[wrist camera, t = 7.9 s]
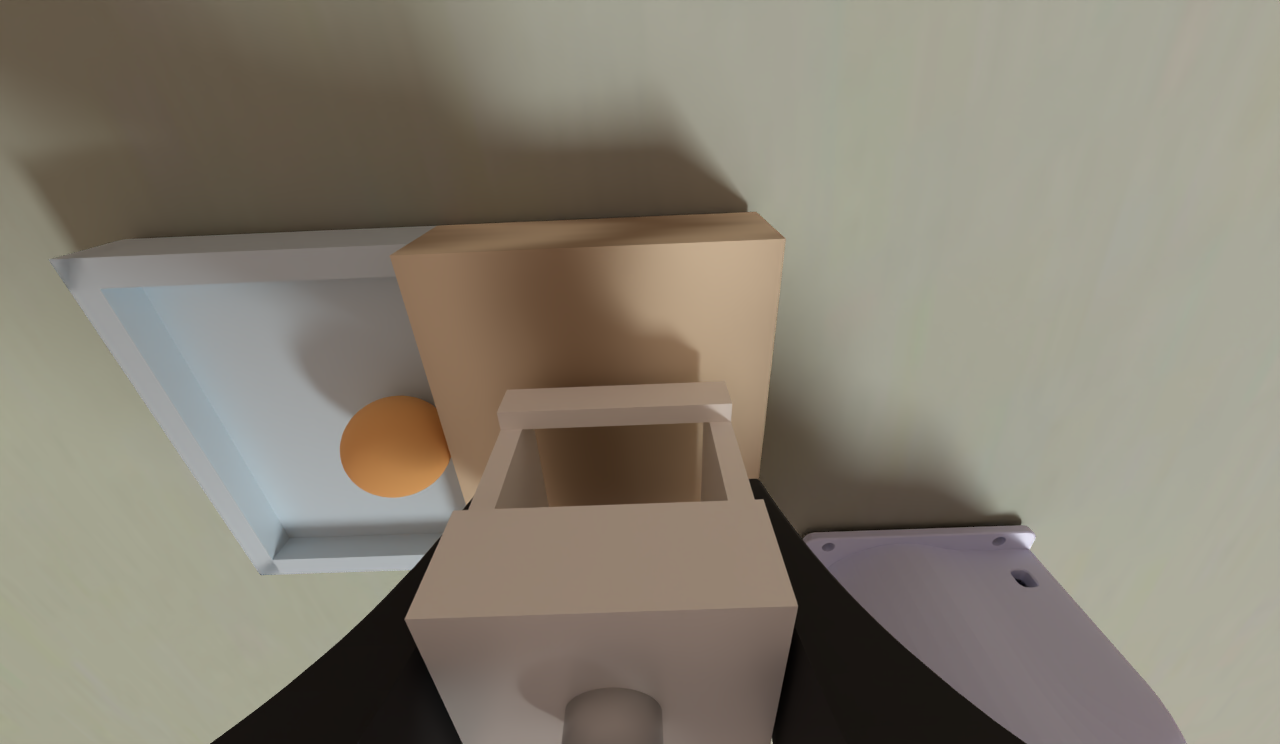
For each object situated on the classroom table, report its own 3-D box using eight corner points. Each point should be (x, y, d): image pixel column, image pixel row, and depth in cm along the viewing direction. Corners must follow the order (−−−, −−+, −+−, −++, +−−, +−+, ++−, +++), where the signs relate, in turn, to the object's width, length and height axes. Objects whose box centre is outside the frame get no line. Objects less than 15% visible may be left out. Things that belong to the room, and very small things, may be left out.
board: (756, 211, 13) (785, 238, 11) (731, 517, 19) (747, 582, 17) (437, 225, 13) (389, 255, 11) (511, 525, 19) (492, 591, 17)
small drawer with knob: (725, 380, 12) (818, 666, 6) (716, 534, 14) (773, 836, 8) (506, 389, 12) (376, 681, 6) (538, 540, 14) (471, 845, 8)
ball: (360, 375, 15) (455, 376, 14) (390, 448, 16) (476, 449, 16) (297, 440, 12) (411, 442, 12) (340, 518, 14) (441, 520, 14)
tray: (437, 225, 13) (407, 244, 12) (511, 525, 19) (499, 567, 18) (123, 239, 13) (48, 259, 12) (293, 532, 19) (260, 575, 18)
